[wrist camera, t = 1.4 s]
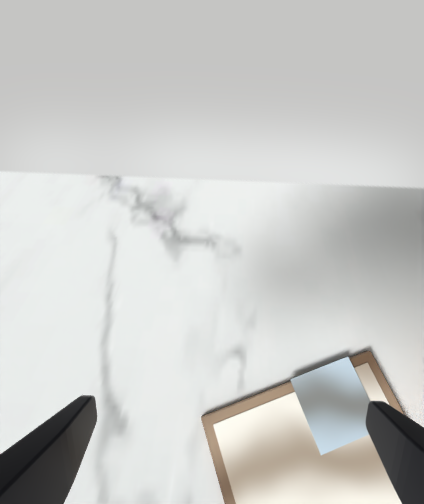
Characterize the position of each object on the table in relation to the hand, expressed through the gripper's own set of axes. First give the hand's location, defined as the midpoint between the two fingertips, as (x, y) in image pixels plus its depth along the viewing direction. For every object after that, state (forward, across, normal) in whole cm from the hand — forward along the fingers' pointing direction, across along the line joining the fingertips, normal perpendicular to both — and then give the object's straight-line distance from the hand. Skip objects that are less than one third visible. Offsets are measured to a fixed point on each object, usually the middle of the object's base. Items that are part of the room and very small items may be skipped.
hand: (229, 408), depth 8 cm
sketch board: (+9, -8, +14) cm, 18 cm away
